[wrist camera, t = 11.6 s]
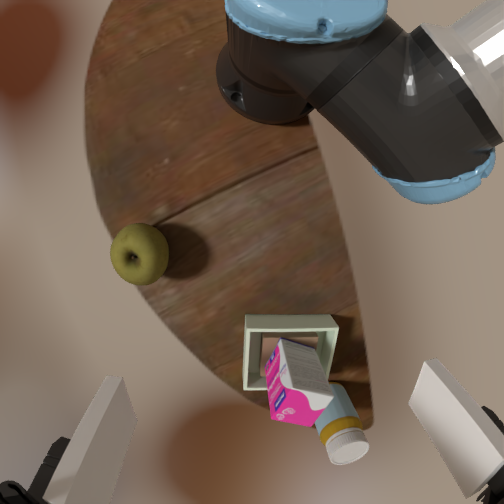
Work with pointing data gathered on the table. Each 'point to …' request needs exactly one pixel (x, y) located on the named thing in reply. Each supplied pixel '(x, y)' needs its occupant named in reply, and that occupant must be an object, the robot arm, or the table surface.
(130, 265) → the apple
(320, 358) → the box
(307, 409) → the supplement box
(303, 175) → the table surface
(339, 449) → the bottle
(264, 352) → the walnut block
